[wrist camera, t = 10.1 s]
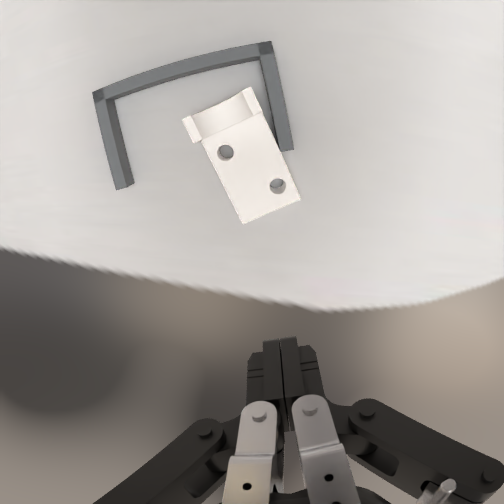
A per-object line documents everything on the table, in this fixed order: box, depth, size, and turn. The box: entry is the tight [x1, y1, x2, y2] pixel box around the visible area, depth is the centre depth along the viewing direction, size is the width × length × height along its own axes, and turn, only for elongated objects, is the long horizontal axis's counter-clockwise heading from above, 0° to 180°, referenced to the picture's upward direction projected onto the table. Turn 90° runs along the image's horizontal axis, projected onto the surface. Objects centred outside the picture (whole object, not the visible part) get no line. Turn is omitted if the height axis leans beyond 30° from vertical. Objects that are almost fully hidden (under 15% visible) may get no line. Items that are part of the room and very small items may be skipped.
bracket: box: [182, 87, 301, 224], centre depth 33 cm, size 13×7×8 cm, turn 25°
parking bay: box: [92, 41, 294, 190], centre depth 33 cm, size 12×21×2 cm, turn 102°
